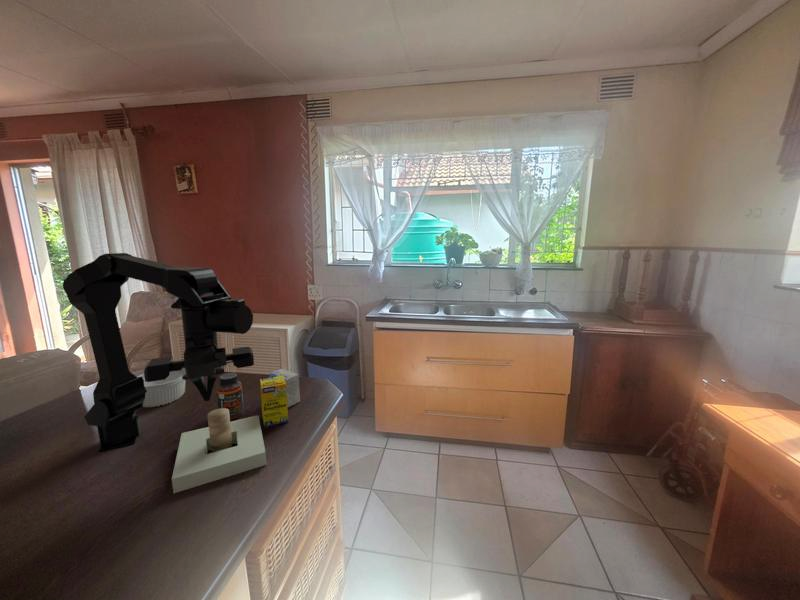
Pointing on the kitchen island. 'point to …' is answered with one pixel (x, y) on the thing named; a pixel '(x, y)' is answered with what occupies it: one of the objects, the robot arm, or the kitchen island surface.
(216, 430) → the wooden peg
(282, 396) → the supplement box
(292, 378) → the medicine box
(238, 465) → the socket plate
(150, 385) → the ramekin
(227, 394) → the supplement bottle
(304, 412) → the kitchen island surface
